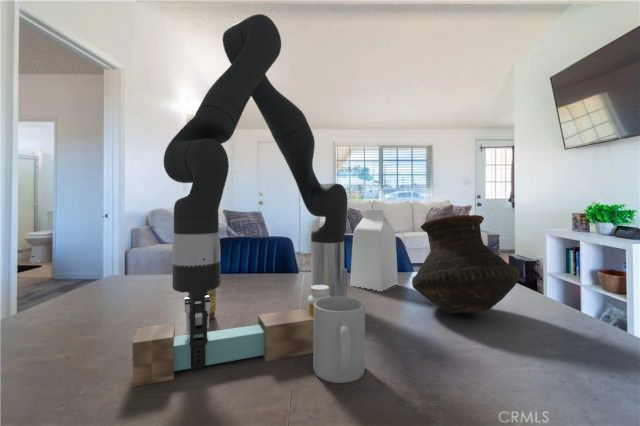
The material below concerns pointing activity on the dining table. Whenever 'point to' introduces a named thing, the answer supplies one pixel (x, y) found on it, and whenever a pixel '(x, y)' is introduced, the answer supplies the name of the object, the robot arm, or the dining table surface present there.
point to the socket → (153, 354)
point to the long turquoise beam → (222, 346)
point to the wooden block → (287, 334)
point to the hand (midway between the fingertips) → (197, 360)
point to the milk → (374, 253)
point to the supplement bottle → (316, 297)
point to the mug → (339, 339)
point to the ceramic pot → (462, 267)
